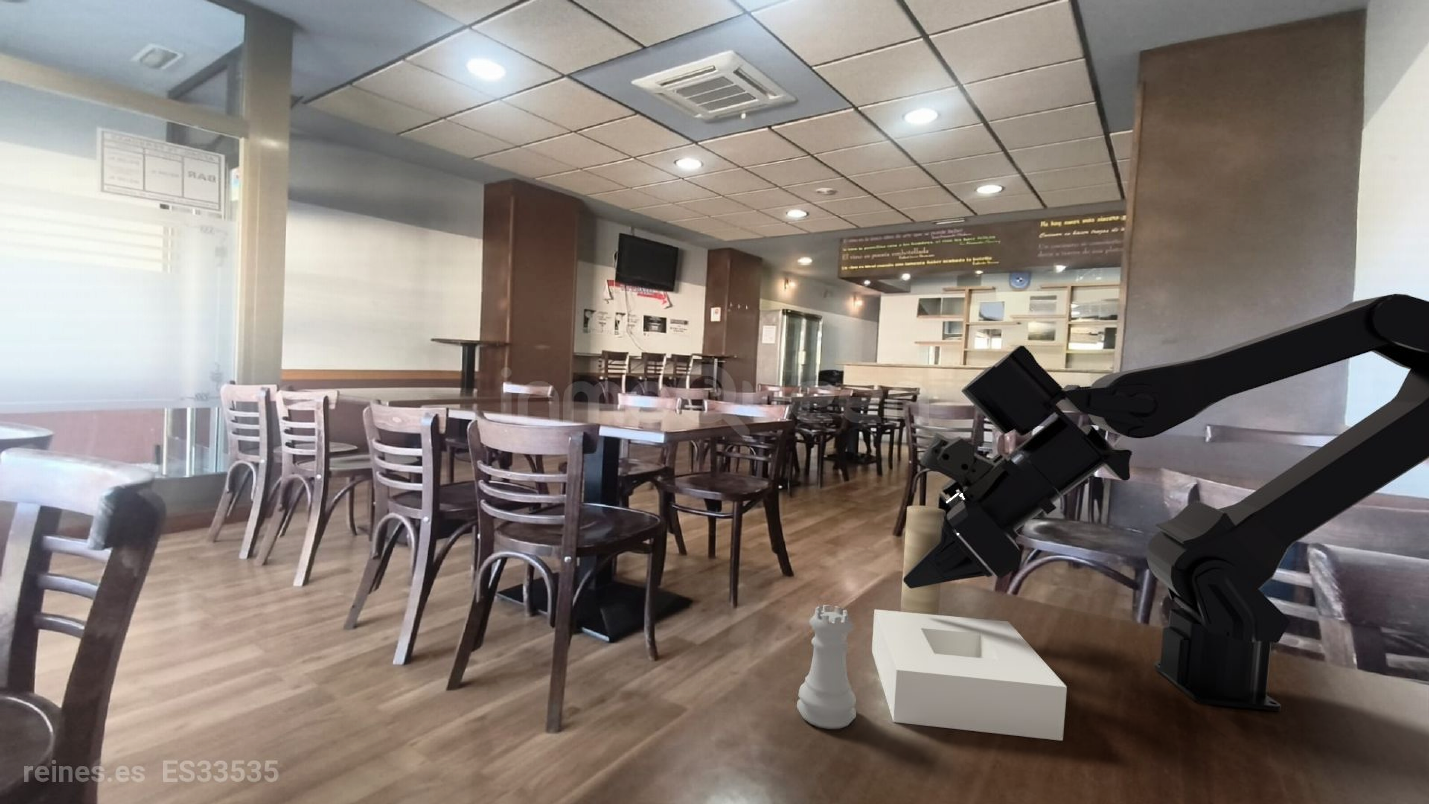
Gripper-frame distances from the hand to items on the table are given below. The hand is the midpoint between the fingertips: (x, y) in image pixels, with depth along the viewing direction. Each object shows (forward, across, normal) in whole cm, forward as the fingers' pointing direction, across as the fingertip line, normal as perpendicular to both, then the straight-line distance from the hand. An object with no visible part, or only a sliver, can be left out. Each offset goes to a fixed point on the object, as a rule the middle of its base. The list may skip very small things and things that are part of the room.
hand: (907, 571), depth 62 cm
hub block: (+2, +10, +8) cm, 12 cm away
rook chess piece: (+8, +18, +1) cm, 20 cm away
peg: (+4, 0, +6) cm, 7 cm away
